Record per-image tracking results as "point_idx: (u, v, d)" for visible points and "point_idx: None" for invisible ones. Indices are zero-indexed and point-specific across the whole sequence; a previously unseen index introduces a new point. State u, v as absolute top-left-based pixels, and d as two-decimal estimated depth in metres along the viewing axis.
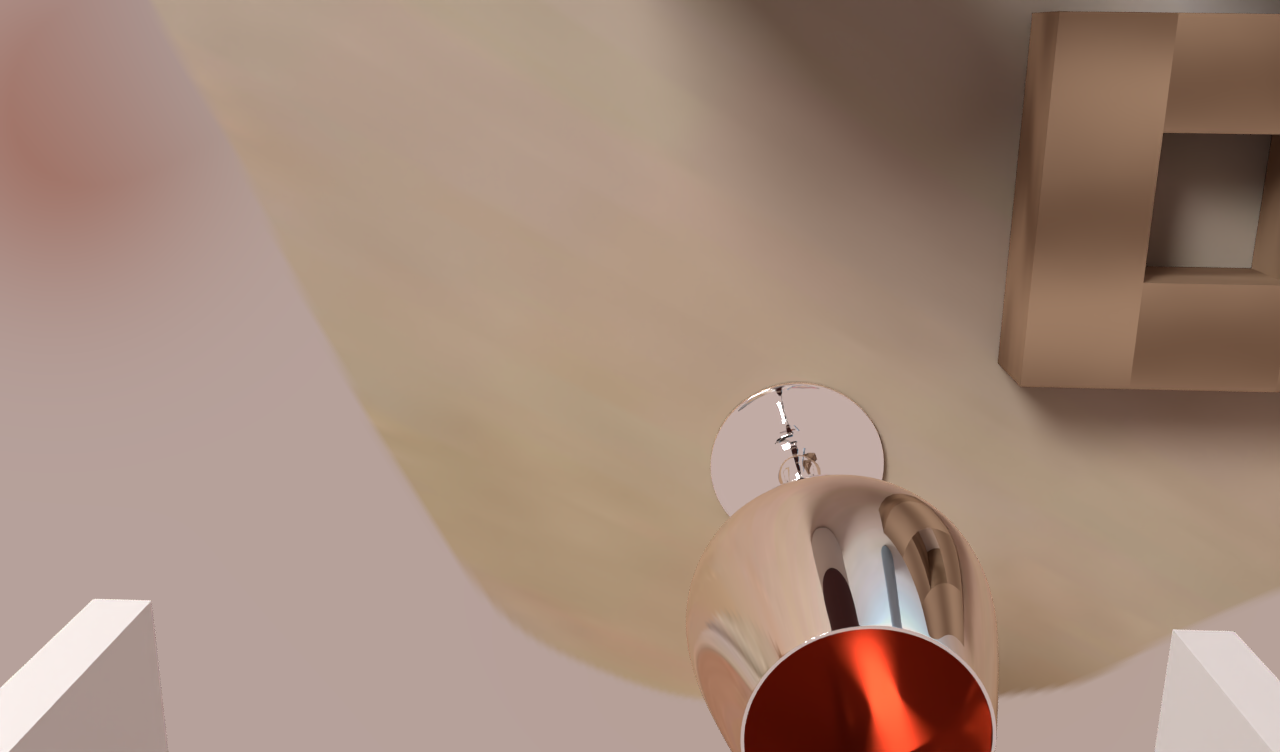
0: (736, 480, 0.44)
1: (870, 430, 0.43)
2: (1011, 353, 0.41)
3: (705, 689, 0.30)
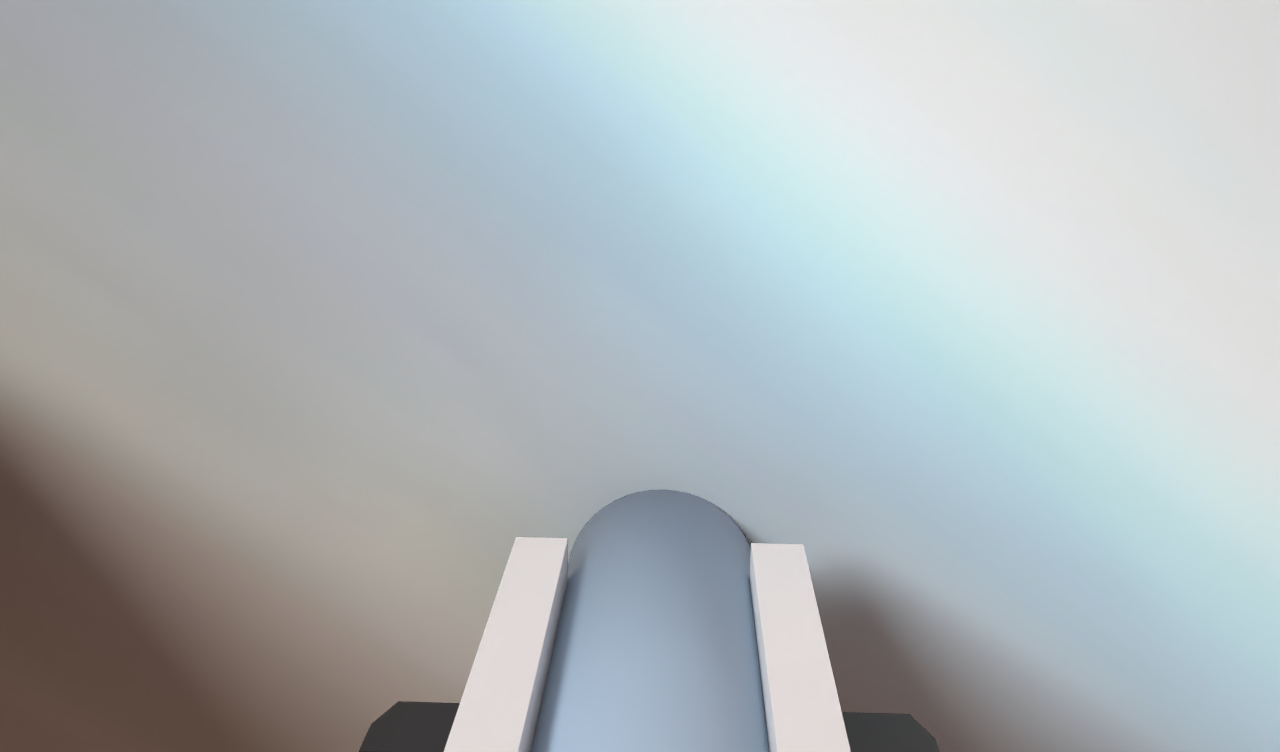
0: None
1: None
2: None
3: None
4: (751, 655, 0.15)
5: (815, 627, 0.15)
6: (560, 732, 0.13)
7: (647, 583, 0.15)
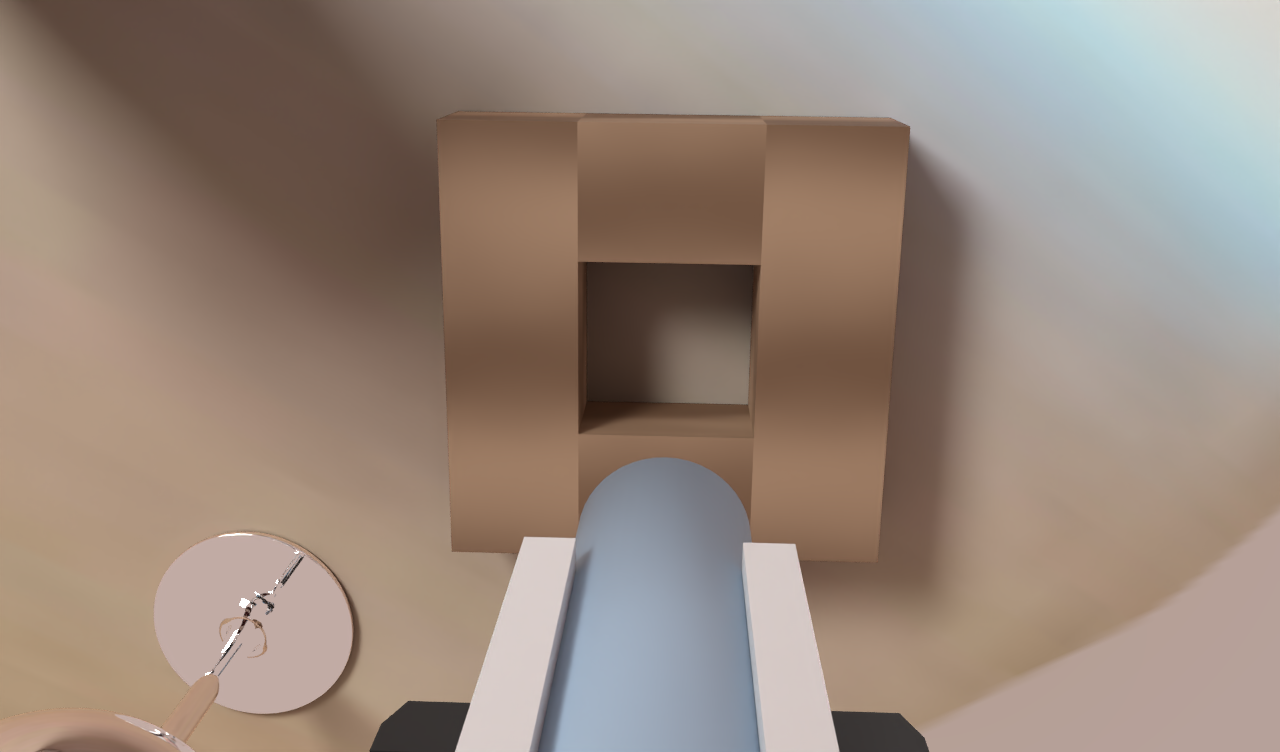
0: (185, 640, 0.38)
1: (330, 586, 0.37)
2: None
3: None
4: (744, 599, 0.16)
5: (805, 626, 0.15)
6: (573, 656, 0.14)
7: (651, 535, 0.17)
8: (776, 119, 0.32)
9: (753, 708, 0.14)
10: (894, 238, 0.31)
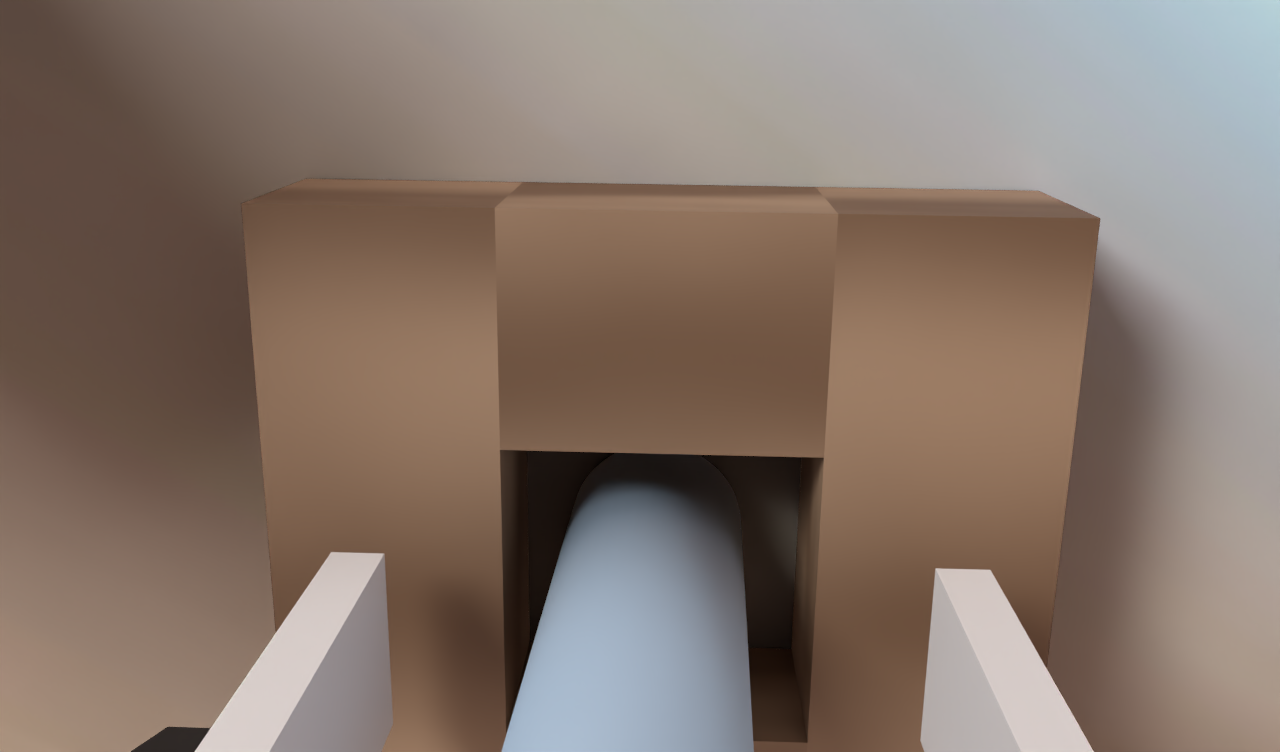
0: None
1: None
2: None
3: None
4: (727, 580, 0.17)
5: (1035, 661, 0.14)
6: (557, 633, 0.15)
7: (638, 518, 0.18)
8: (848, 197, 0.18)
9: (729, 683, 0.14)
10: (1063, 414, 0.17)
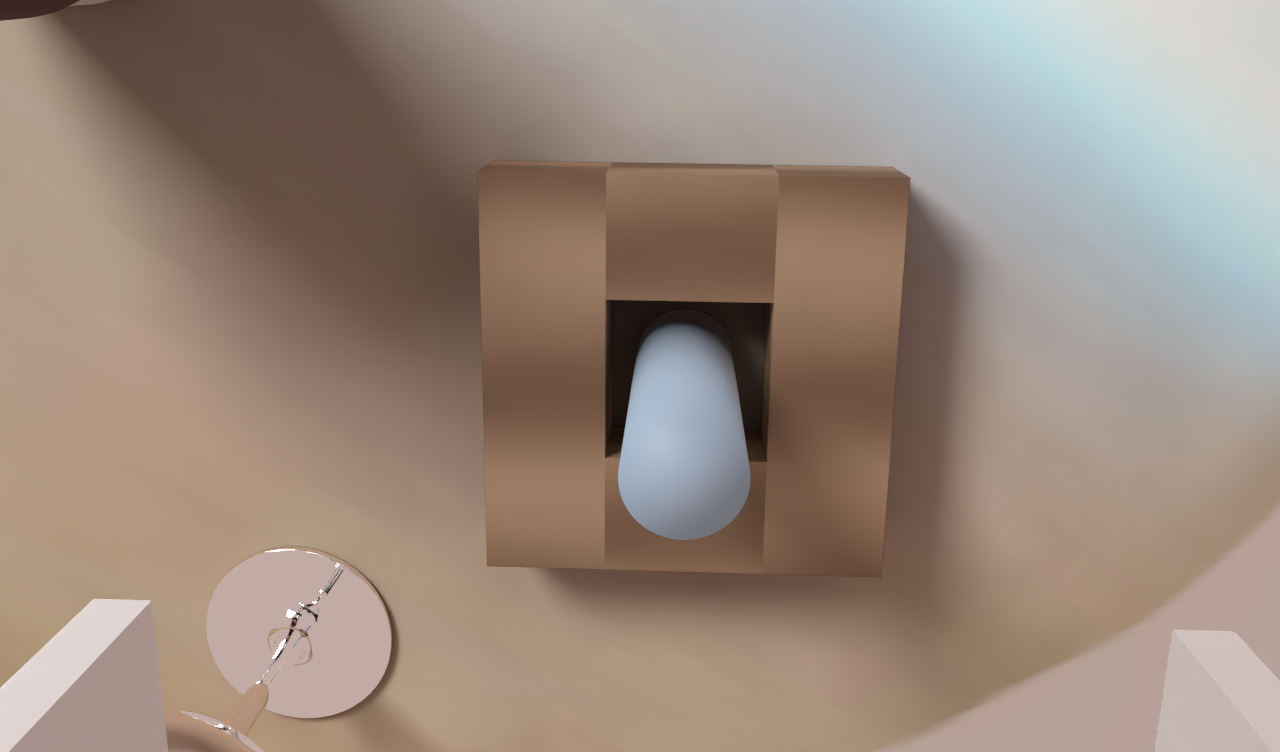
0: (235, 649, 0.41)
1: (371, 598, 0.40)
2: None
3: None
4: (727, 361, 0.33)
5: None
6: (648, 372, 0.31)
7: (680, 334, 0.34)
8: (787, 169, 0.35)
9: (730, 389, 0.31)
10: (896, 279, 0.34)
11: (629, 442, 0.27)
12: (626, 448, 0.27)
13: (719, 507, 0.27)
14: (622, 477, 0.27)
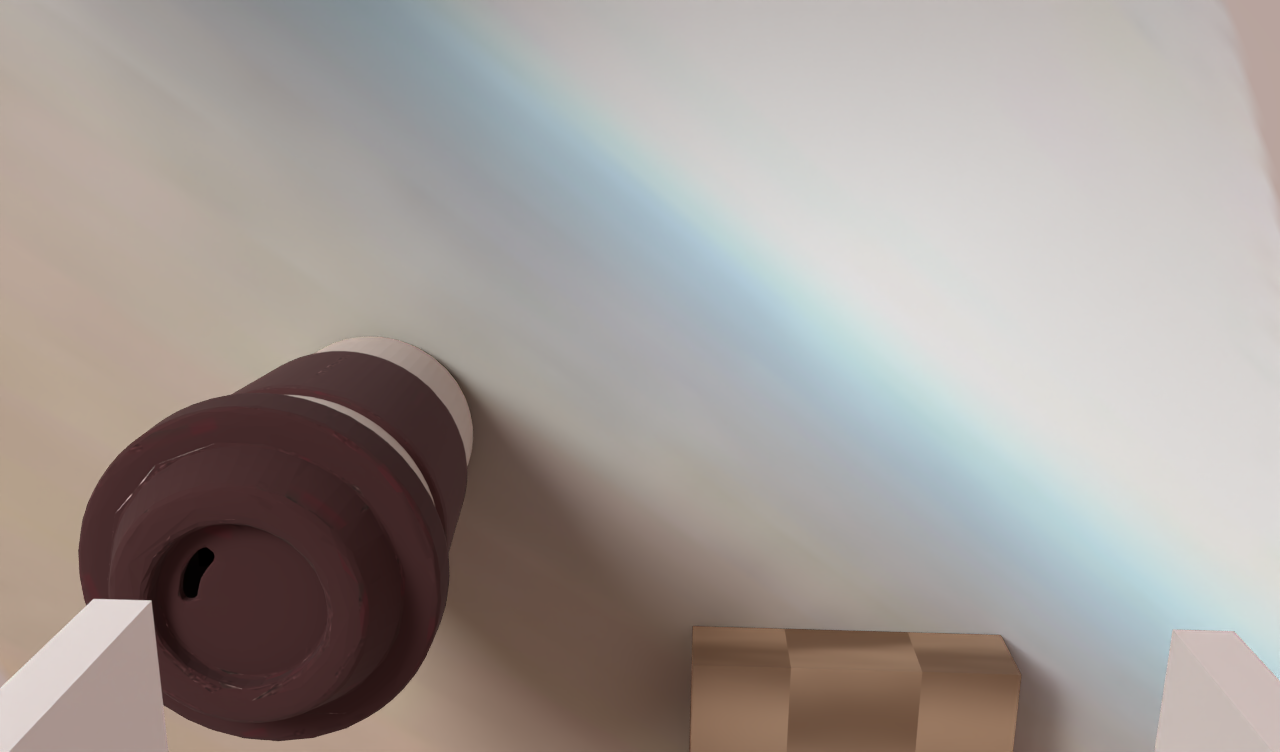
0: None
1: None
2: None
3: None
4: None
5: None
6: None
7: None
8: (923, 648, 0.45)
9: None
10: (1008, 742, 0.44)
11: None
12: None
13: None
14: None
